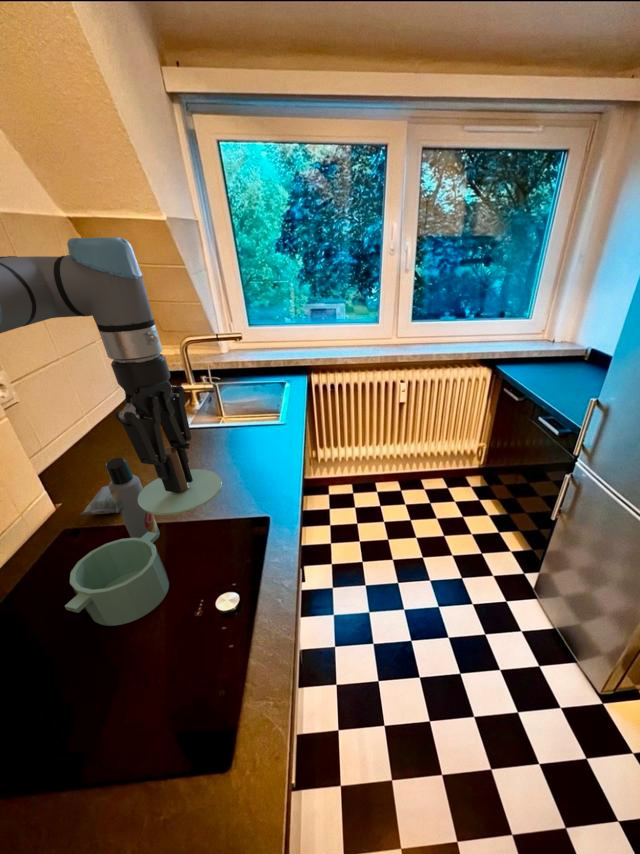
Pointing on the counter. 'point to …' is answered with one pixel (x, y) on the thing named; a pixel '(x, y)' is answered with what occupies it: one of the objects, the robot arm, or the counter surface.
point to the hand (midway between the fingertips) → (179, 485)
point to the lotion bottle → (129, 498)
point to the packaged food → (102, 503)
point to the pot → (119, 581)
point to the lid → (188, 498)
